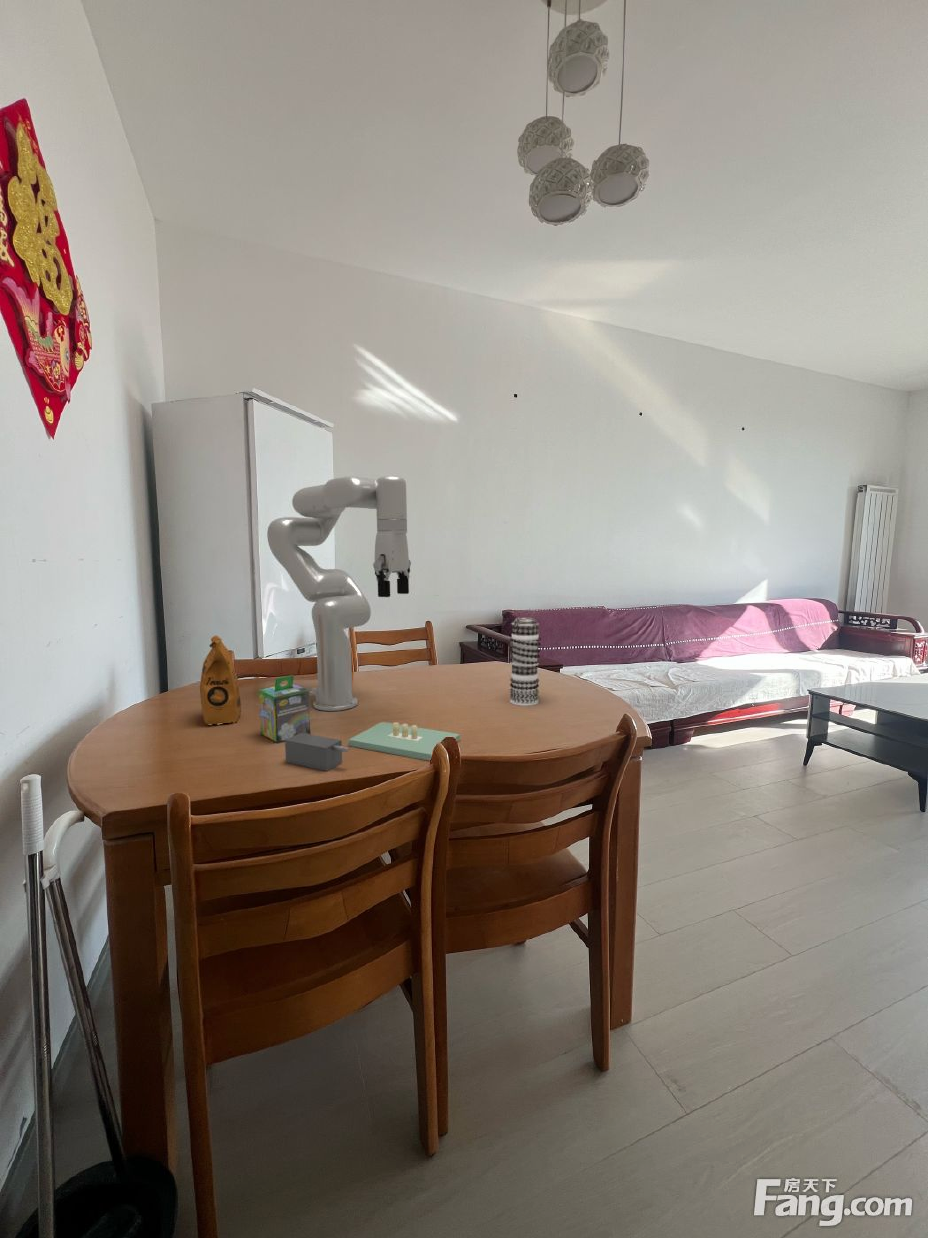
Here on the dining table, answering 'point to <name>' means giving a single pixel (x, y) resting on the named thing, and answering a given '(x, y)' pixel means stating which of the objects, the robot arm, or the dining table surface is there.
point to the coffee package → (219, 686)
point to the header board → (401, 740)
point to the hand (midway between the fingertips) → (393, 595)
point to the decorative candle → (524, 662)
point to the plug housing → (314, 751)
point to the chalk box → (284, 710)
